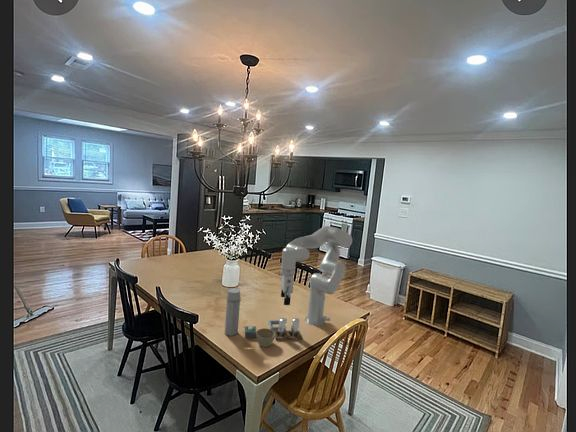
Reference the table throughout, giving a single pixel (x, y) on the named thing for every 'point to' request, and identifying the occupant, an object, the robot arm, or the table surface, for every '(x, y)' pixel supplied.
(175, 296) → the table surface
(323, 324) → the robot arm
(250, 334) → the console
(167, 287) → the table surface
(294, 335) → the billet
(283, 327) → the billet
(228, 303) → the water bottle
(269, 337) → the flower pot
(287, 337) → the pallet board
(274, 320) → the tote
